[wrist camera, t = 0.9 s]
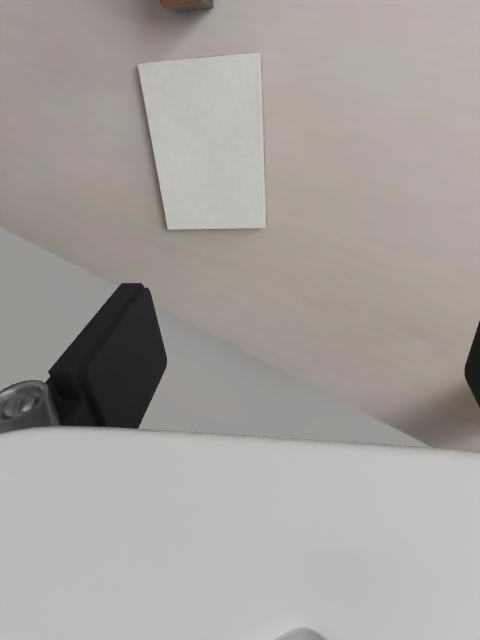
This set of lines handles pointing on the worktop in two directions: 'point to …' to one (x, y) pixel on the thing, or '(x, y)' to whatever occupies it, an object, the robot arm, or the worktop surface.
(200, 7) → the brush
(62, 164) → the worktop surface
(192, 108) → the tile
